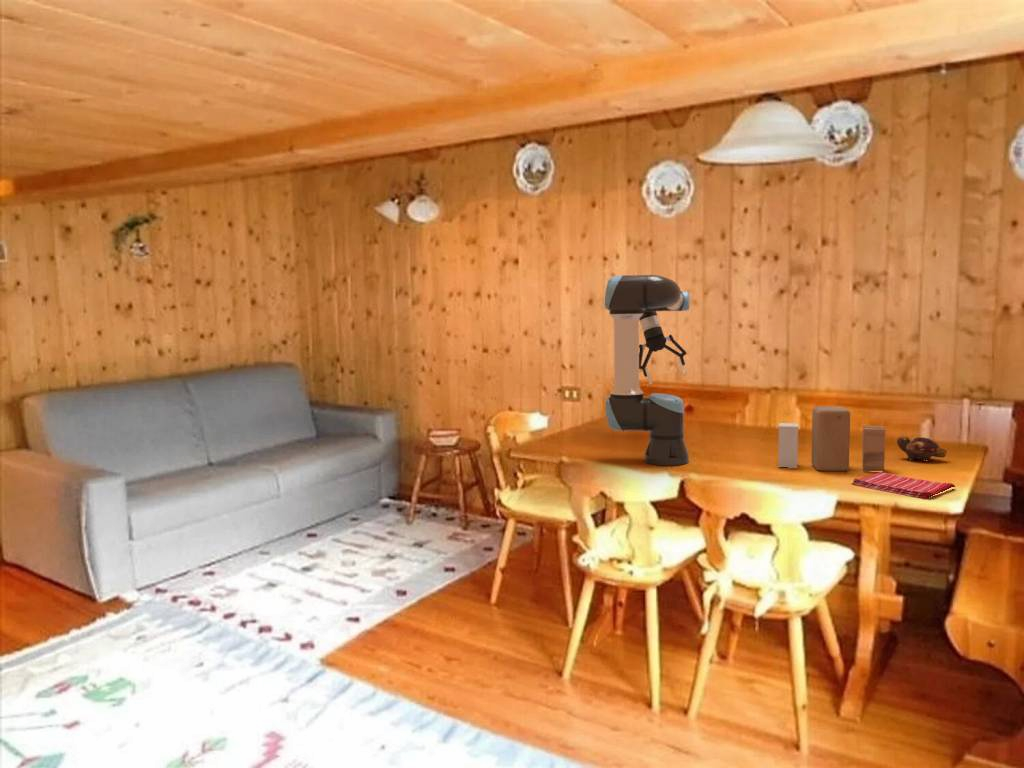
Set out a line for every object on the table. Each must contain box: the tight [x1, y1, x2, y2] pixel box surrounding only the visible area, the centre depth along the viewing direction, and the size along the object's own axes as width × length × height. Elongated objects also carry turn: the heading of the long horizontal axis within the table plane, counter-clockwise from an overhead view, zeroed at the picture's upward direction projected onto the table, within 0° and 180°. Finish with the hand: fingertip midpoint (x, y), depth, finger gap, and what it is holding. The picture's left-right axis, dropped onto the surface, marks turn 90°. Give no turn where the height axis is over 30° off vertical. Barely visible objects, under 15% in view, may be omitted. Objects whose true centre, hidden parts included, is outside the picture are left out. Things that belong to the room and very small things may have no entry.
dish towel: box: [851, 472, 956, 500], centre depth 241 cm, size 17×24×3 cm
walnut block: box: [861, 425, 886, 472], centre depth 262 cm, size 6×6×14 cm
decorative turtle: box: [896, 436, 948, 461], centre depth 274 cm, size 10×15×8 cm, turn 68°
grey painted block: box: [777, 422, 799, 469], centre depth 270 cm, size 6×6×14 cm
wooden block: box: [810, 405, 851, 472], centre depth 266 cm, size 10×10×20 cm
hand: (667, 378), depth 323 cm, fingers open, 13 cm apart
